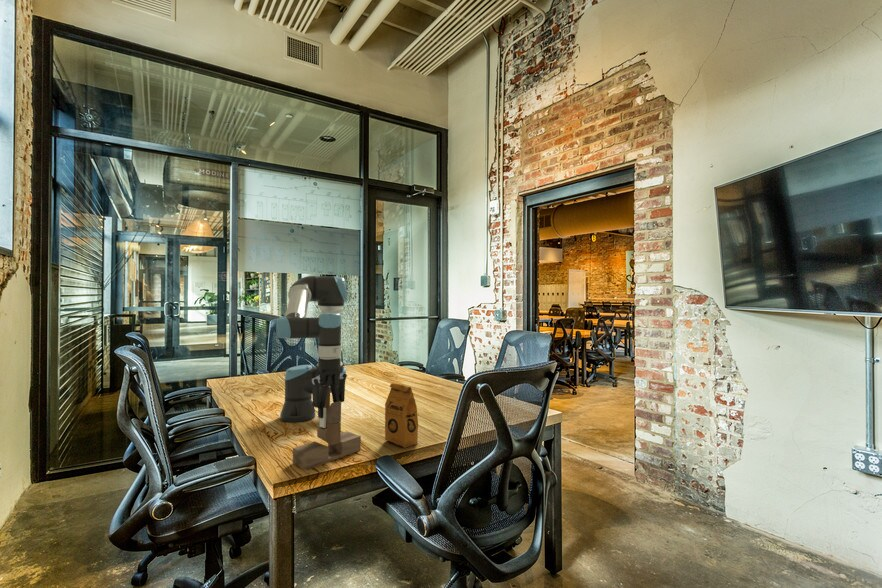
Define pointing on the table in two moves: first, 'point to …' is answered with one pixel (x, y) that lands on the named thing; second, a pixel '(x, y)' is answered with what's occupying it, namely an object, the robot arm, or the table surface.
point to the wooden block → (331, 422)
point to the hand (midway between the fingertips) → (328, 425)
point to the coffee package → (401, 416)
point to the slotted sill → (325, 451)
